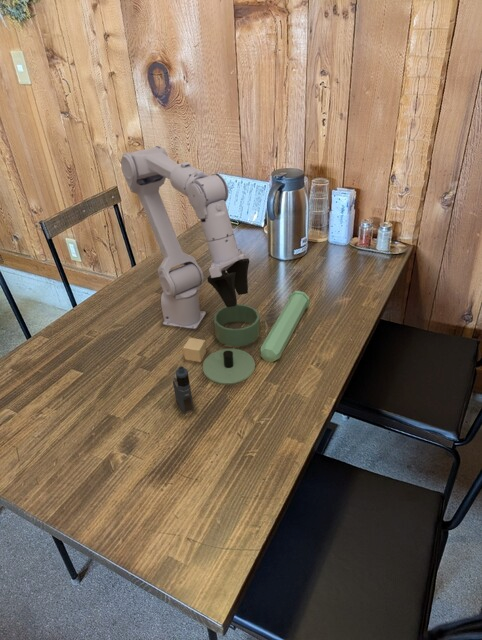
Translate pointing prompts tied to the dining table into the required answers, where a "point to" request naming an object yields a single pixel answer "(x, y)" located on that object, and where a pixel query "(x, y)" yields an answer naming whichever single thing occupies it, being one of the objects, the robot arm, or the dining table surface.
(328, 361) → the dining table surface
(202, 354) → the block
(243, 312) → the pan
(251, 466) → the dining table surface
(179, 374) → the vaping device
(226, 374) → the lid
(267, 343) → the green octagonal rod
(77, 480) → the dining table surface
